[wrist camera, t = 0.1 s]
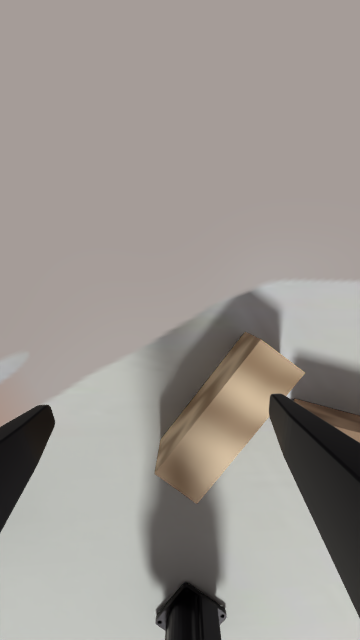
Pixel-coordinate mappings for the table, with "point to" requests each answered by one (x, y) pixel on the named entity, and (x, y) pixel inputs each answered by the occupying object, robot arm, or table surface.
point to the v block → (335, 418)
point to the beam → (223, 416)
